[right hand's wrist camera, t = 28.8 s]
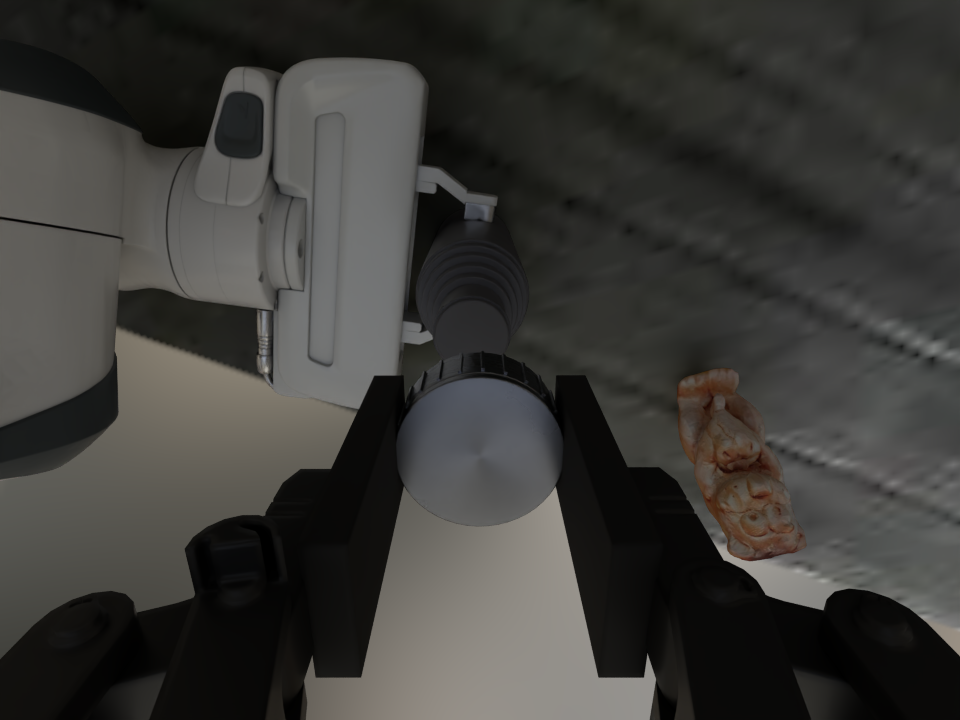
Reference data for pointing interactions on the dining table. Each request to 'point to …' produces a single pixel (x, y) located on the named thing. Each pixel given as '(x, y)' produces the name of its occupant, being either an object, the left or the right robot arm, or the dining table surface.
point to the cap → (479, 440)
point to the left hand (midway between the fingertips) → (487, 265)
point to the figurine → (736, 467)
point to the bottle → (472, 287)
